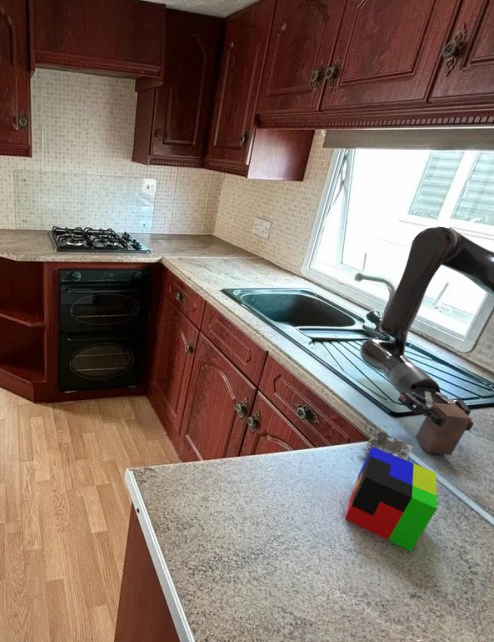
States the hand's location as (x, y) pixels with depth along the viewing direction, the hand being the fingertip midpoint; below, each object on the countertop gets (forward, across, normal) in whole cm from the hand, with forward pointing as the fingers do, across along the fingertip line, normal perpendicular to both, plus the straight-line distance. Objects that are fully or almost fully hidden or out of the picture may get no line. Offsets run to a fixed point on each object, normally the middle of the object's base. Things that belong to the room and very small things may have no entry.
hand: (456, 425), depth 86 cm
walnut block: (-3, 0, +8) cm, 8 cm away
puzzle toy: (+20, -22, +9) cm, 31 cm away
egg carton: (+3, -13, +9) cm, 16 cm away
